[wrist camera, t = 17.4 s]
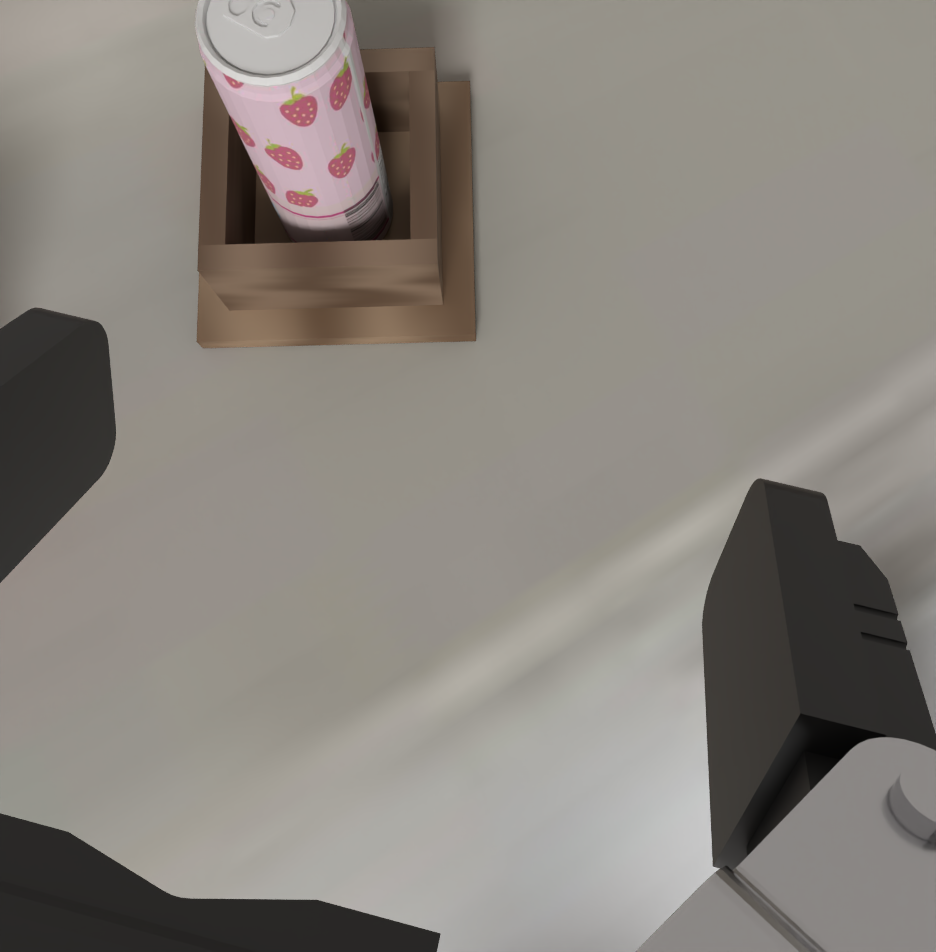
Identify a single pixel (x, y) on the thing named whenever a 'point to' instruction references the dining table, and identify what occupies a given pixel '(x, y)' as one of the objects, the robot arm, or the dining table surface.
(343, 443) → the dining table surface
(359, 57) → the beverage can
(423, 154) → the can socket
